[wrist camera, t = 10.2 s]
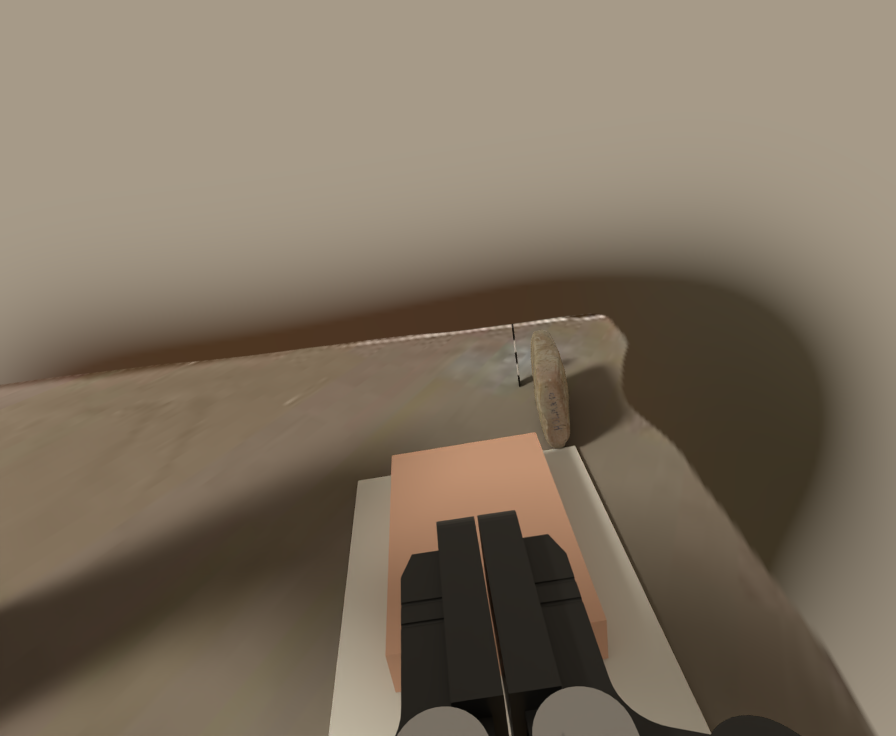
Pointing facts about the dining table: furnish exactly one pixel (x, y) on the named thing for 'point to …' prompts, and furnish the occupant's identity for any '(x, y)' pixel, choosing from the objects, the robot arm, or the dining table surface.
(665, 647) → the mat
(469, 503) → the tile
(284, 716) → the dining table surface
